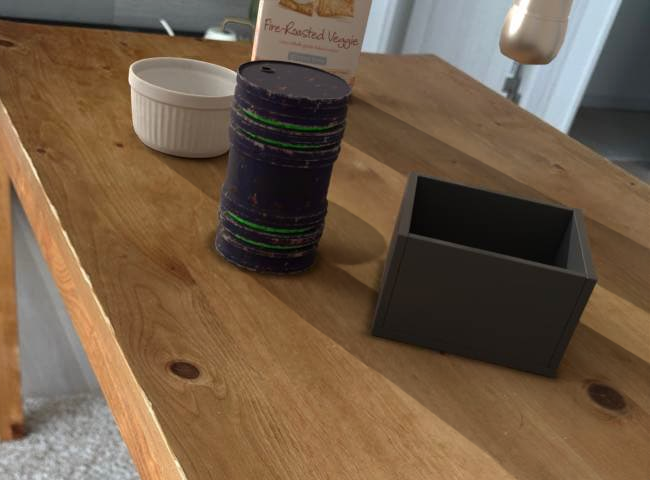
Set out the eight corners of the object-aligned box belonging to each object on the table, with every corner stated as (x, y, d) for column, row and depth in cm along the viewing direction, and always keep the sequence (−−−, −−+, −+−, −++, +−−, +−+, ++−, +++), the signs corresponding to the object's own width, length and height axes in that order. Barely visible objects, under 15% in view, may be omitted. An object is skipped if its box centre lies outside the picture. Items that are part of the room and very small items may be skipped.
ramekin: (102, 126, 99) (104, 59, 95) (191, 114, 107) (198, 52, 102) (174, 171, 93) (180, 101, 88) (264, 155, 100) (274, 90, 96)
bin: (544, 299, 83) (582, 209, 77) (553, 377, 73) (598, 280, 67) (384, 262, 84) (409, 170, 78) (370, 334, 73) (398, 234, 67)
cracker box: (250, 89, 118) (276, -100, 103) (248, 75, 122) (273, -108, 108) (351, 104, 119) (391, -80, 105) (346, 90, 124) (383, -88, 110)
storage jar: (336, 254, 84) (374, 87, 74) (282, 286, 77) (316, 108, 67) (251, 217, 87) (276, 53, 77) (192, 245, 81) (211, 70, 71)
